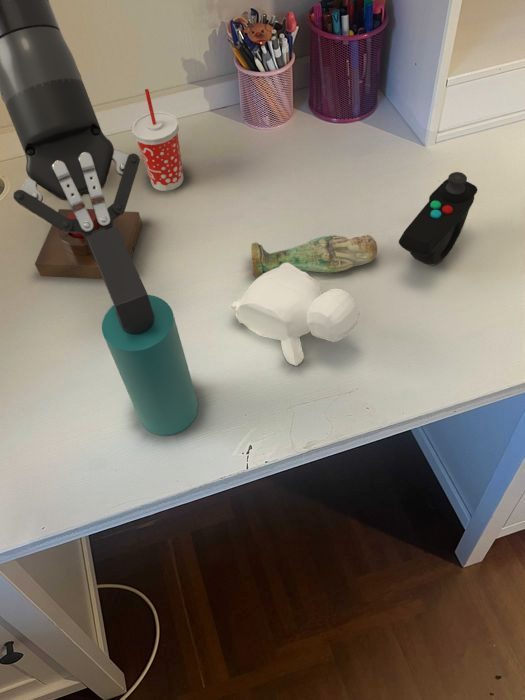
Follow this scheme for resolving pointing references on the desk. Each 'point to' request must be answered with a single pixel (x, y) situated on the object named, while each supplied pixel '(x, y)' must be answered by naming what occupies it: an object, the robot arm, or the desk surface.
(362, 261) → the figurine
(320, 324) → the penguin
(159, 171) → the beverage cup
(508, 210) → the desk surface
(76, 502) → the desk surface
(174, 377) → the spray bottle
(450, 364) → the desk surface
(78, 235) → the button
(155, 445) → the desk surface
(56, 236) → the button box
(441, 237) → the controller
